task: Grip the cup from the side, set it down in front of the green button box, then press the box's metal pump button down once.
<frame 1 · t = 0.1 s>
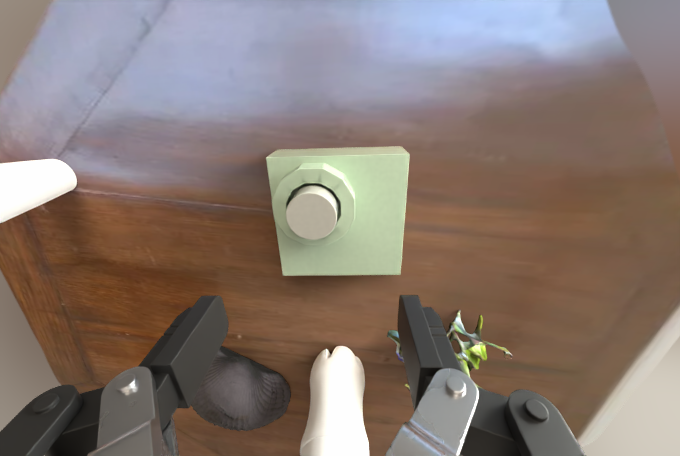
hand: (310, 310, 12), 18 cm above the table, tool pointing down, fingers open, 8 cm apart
seashell: (241, 380, 42), on the table
cup: (61, 174, 29), on the table
green button box: (340, 206, 29), on the table
water bottle: (338, 357, 39), on the table
passion flower: (435, 325, 36), on the table
pump button: (312, 212, 22), point 7 cm above the table, slide at 0.1 cm
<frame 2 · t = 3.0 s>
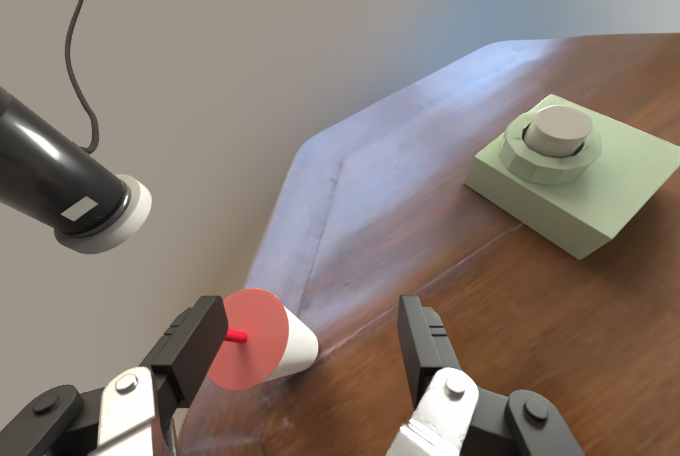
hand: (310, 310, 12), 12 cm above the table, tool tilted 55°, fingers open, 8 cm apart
cup: (299, 348, 23), on the table, touching gripper
green button box: (552, 182, 28), on the table
pump button: (556, 131, 22), point 7 cm above the table, slide at 0.1 cm
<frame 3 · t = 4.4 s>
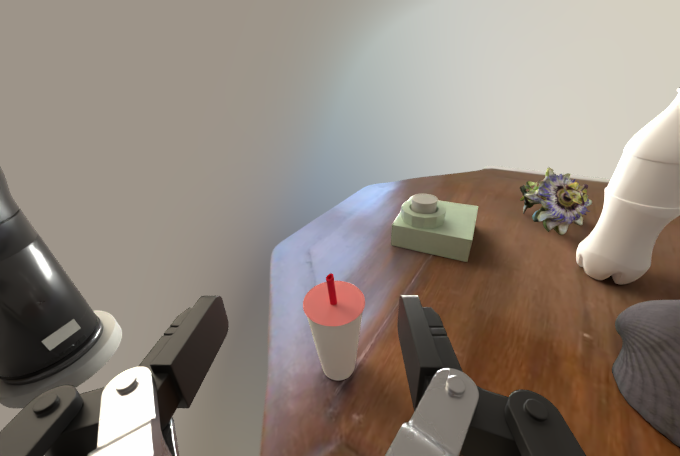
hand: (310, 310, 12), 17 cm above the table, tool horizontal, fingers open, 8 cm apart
cup: (338, 365, 28), on the table
green button box: (434, 235, 49), on the table
water bottle: (602, 273, 38), on the table
passion flower: (541, 222, 51), on the table
pump button: (424, 204, 45), point 7 cm above the table, slide at 0.1 cm
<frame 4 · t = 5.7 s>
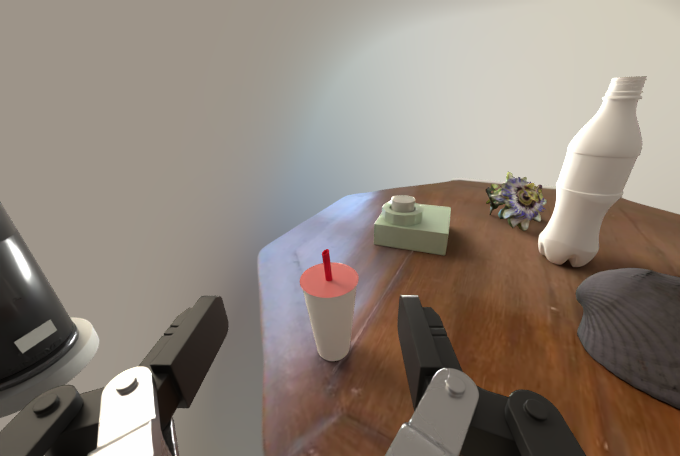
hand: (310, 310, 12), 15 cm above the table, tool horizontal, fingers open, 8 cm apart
seashell: (661, 339, 29), on the table
cup: (333, 348, 29), on the table
green button box: (412, 234, 52), on the table
water bottle: (560, 259, 43), on the table
passion flower: (506, 222, 56), on the table
pump button: (402, 204, 48), point 7 cm above the table, slide at 0.1 cm
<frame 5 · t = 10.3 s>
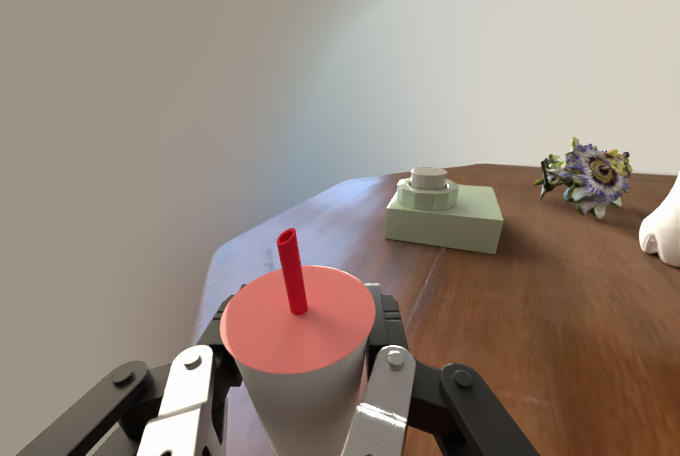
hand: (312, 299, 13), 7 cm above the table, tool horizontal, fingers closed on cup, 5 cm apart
cup: (314, 449, 14), on the table, touching gripper
green button box: (440, 225, 36), on the table
water bottle: (679, 260, 28), on the table
passion flower: (566, 209, 41), on the table
pump button: (428, 179, 33), point 7 cm above the table, slide at 0.1 cm
when the fingers open (7 cm above the table, at t = 18.4 s): cup moves 3 cm, on the table.
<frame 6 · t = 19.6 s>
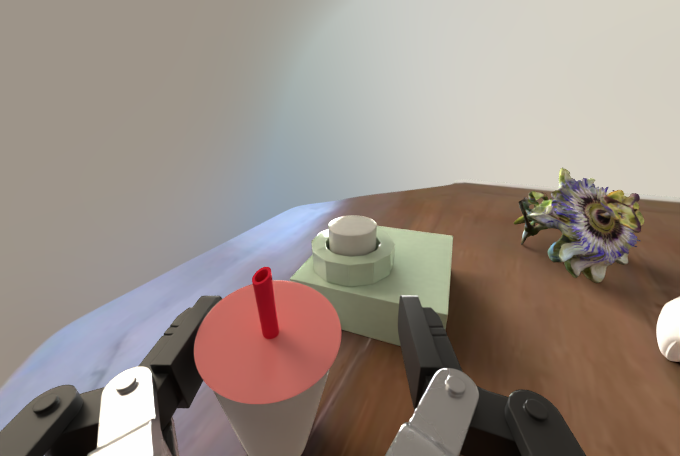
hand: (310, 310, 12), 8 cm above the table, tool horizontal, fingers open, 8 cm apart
cup: (277, 434, 15), on the table
green button box: (379, 290, 27), on the table
passion flower: (554, 260, 31), on the table
pump button: (352, 235, 23), point 7 cm above the table, slide at 0.1 cm
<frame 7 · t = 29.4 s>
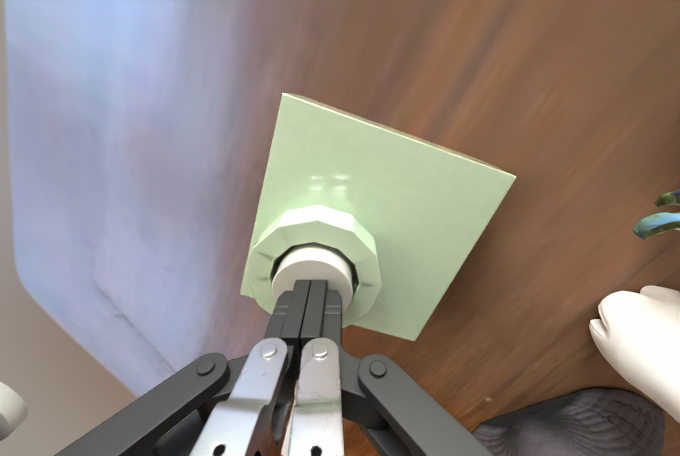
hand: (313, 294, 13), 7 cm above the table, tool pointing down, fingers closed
seashell: (557, 426, 29), on the table
green button box: (359, 215, 19), on the table
water bottle: (622, 310, 22), on the table
pump button: (314, 281, 14), point 6 cm above the table, slide at -0.6 cm, touching gripper
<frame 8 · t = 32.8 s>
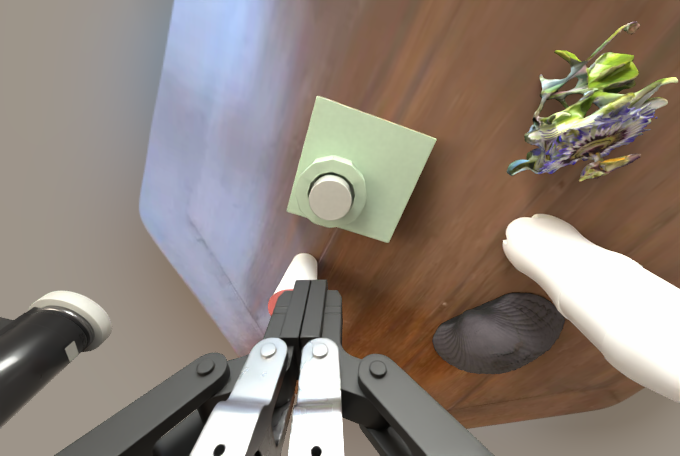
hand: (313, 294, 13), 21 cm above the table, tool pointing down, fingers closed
seashell: (494, 326, 42), on the table
cup: (305, 262, 38), on the table
green button box: (355, 168, 32), on the table
water bottle: (524, 233, 35), on the table
passion flower: (547, 111, 29), on the table
pump button: (330, 197, 26), point 7 cm above the table, slide at 0.1 cm
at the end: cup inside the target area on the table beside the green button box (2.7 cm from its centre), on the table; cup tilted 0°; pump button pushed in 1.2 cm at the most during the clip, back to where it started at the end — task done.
